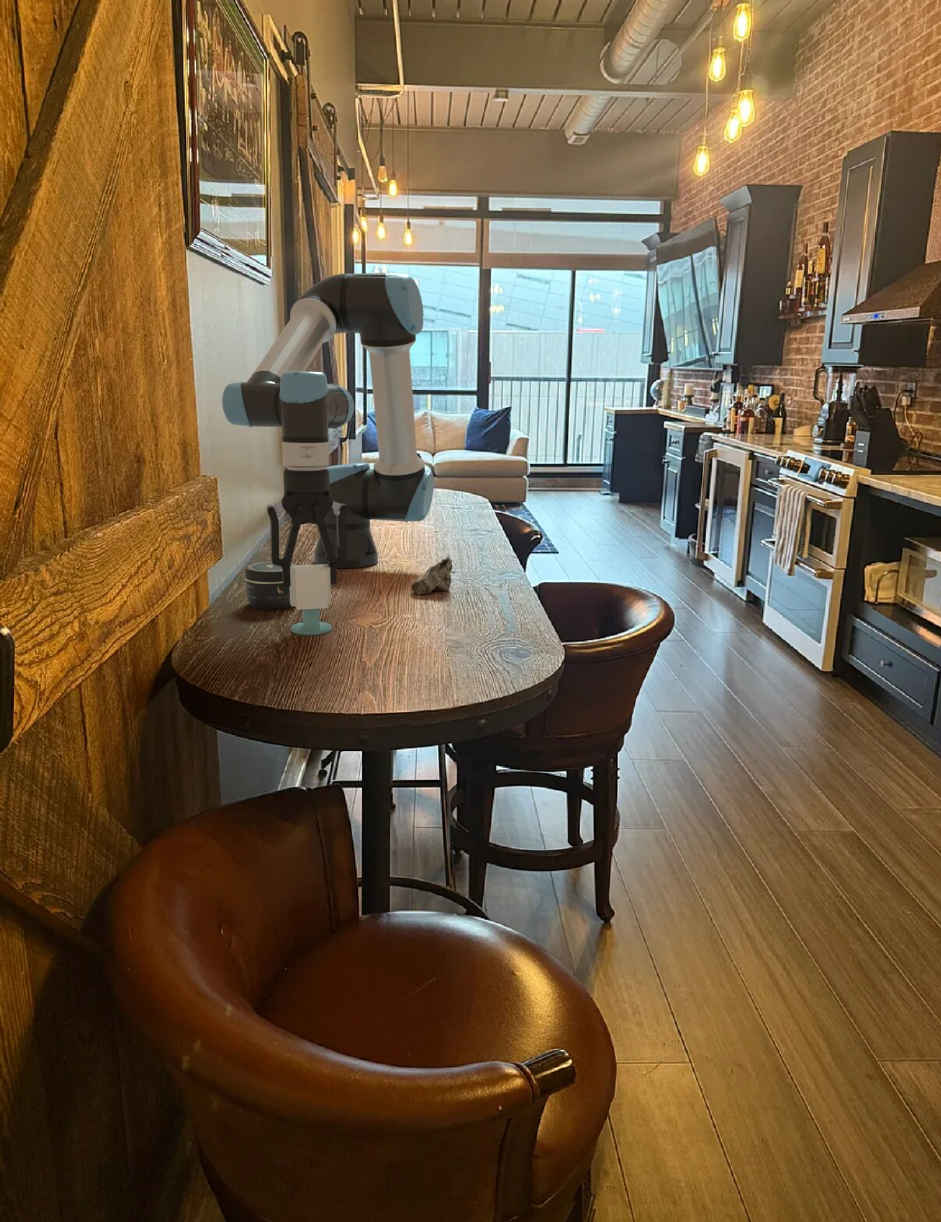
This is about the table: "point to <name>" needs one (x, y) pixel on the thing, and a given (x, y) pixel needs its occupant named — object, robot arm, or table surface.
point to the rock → (434, 578)
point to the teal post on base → (311, 624)
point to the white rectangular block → (311, 586)
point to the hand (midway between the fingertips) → (310, 603)
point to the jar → (266, 587)
